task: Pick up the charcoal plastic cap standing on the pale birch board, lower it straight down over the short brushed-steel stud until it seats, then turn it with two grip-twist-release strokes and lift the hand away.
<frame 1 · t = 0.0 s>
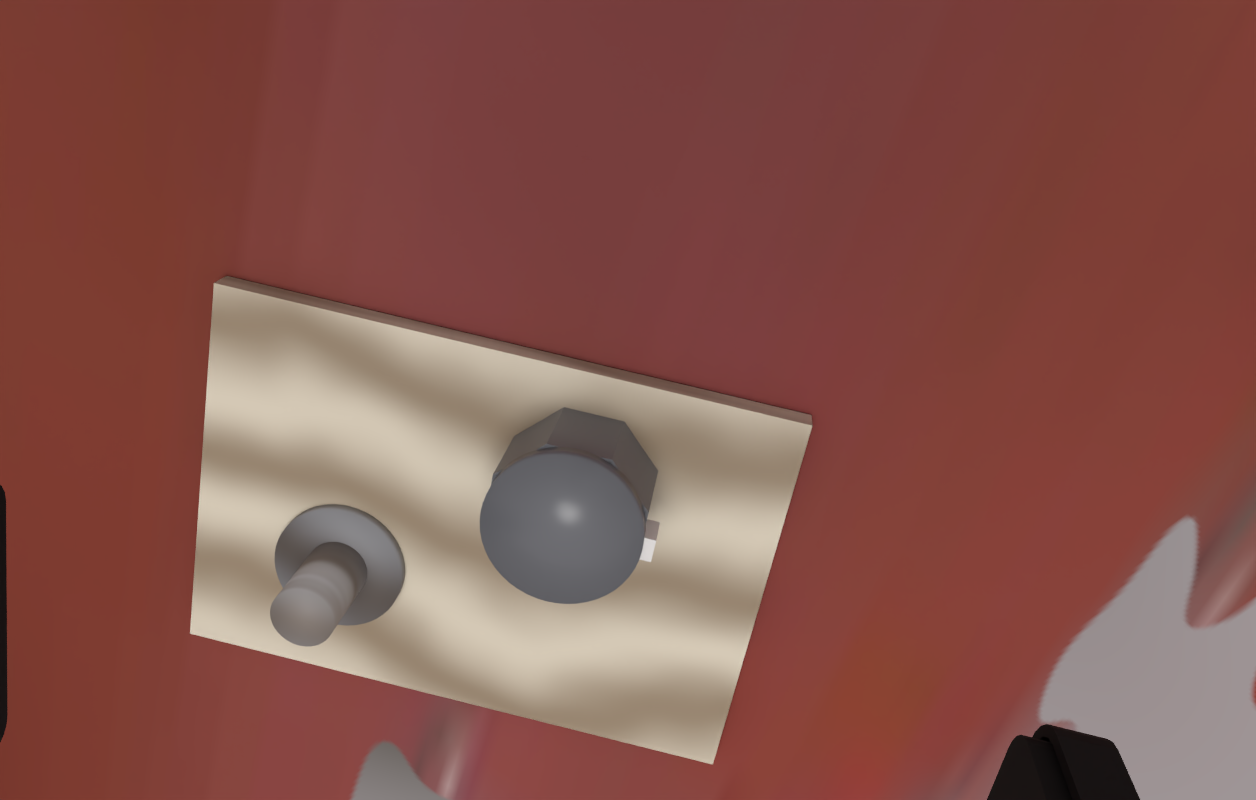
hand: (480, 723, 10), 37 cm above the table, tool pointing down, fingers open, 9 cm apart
cap: (580, 480, 49), point 1 cm above the table, touching board
board: (483, 525, 52), on the table
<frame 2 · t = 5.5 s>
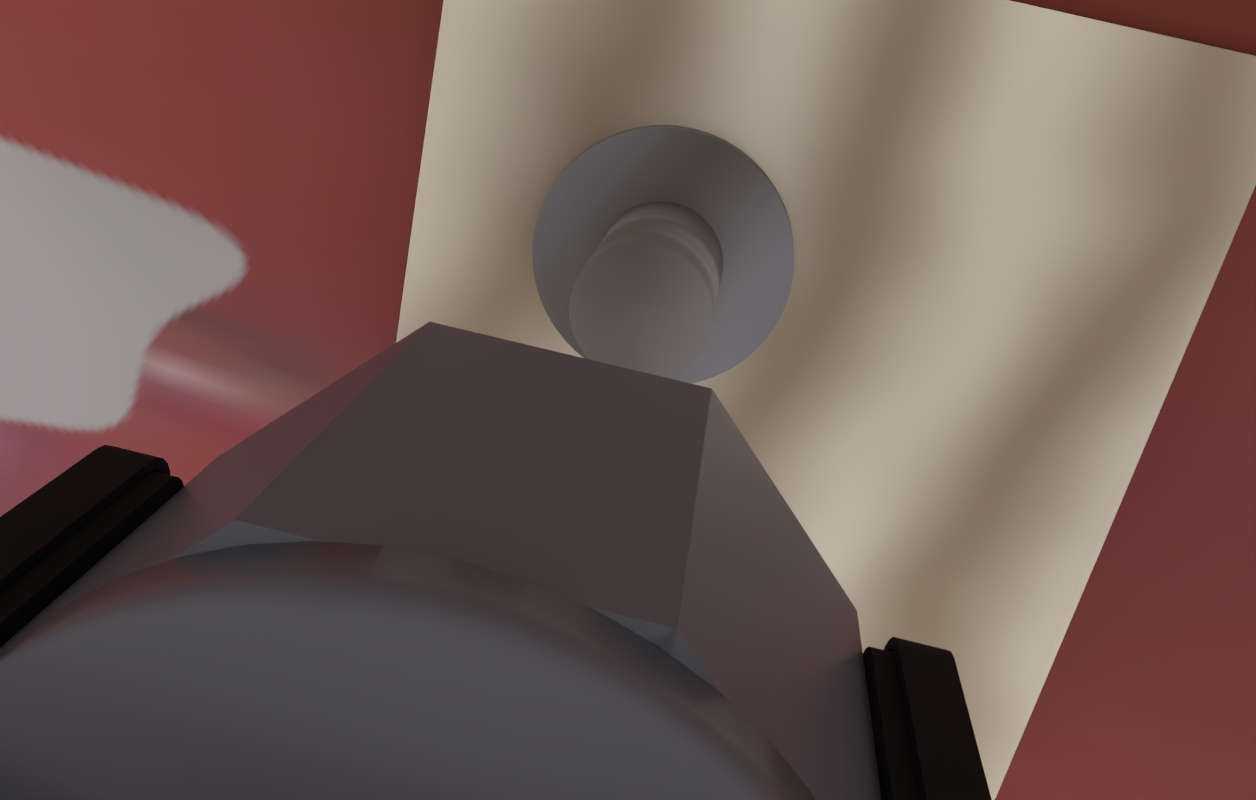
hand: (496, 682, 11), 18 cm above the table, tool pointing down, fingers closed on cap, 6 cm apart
cap: (512, 643, 11), point 17 cm above the table, touching gripper
board: (729, 490, 29), on the table
when the fingers open (3 cm above the table, at t = 8.0 s): cap stays where it is, resting on board.
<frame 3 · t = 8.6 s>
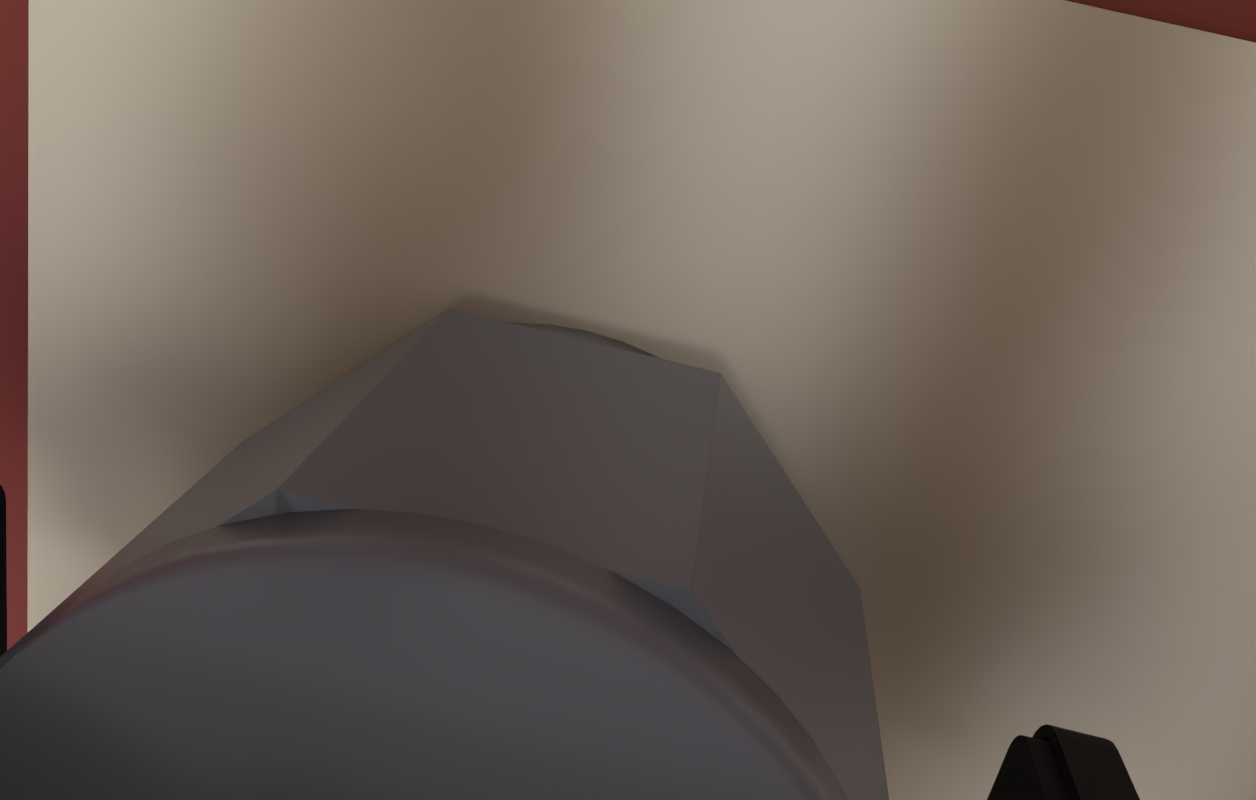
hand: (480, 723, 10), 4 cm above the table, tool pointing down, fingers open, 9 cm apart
cap: (527, 620, 12), point 2 cm above the table, touching board
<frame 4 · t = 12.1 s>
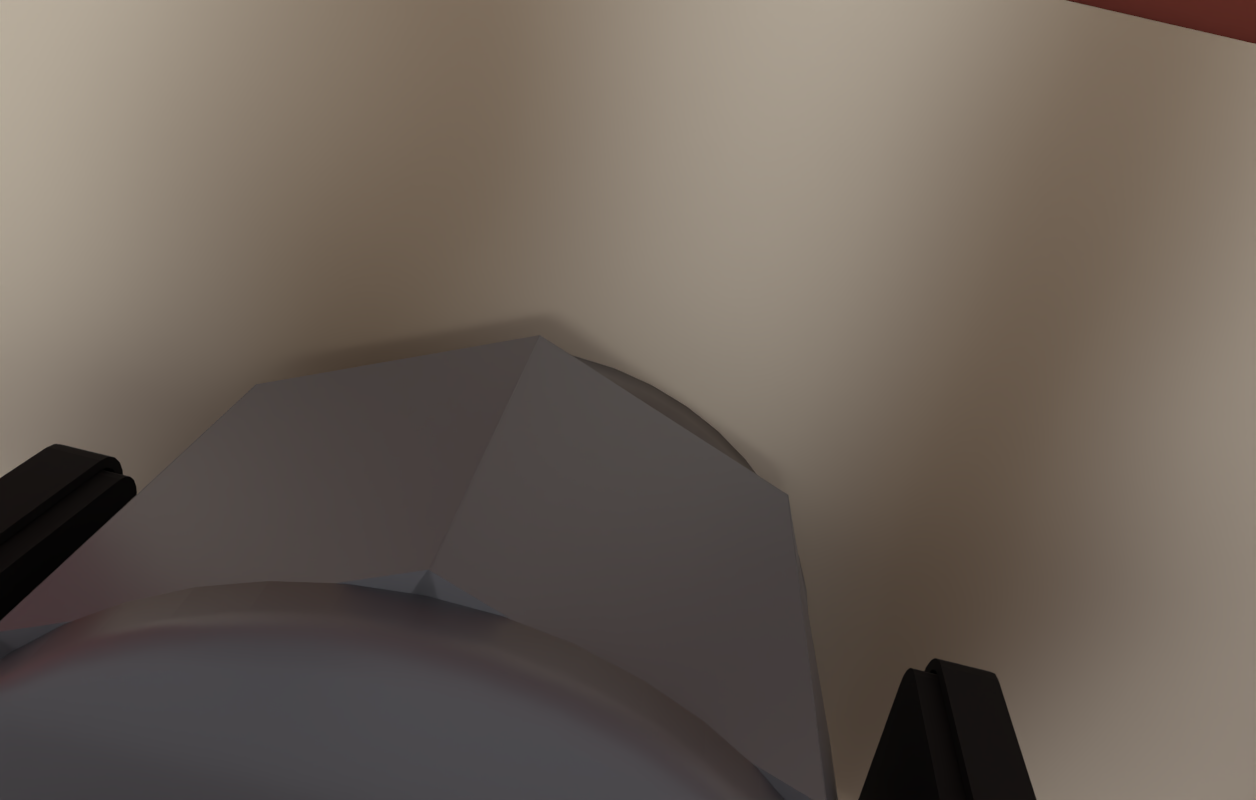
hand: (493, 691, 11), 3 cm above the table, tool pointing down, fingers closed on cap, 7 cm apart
cap: (484, 661, 11), point 2 cm above the table, touching gripper
when the fingers open (2 cm above the table, at t = 13.7 s): cap stays where it is, resting on board.
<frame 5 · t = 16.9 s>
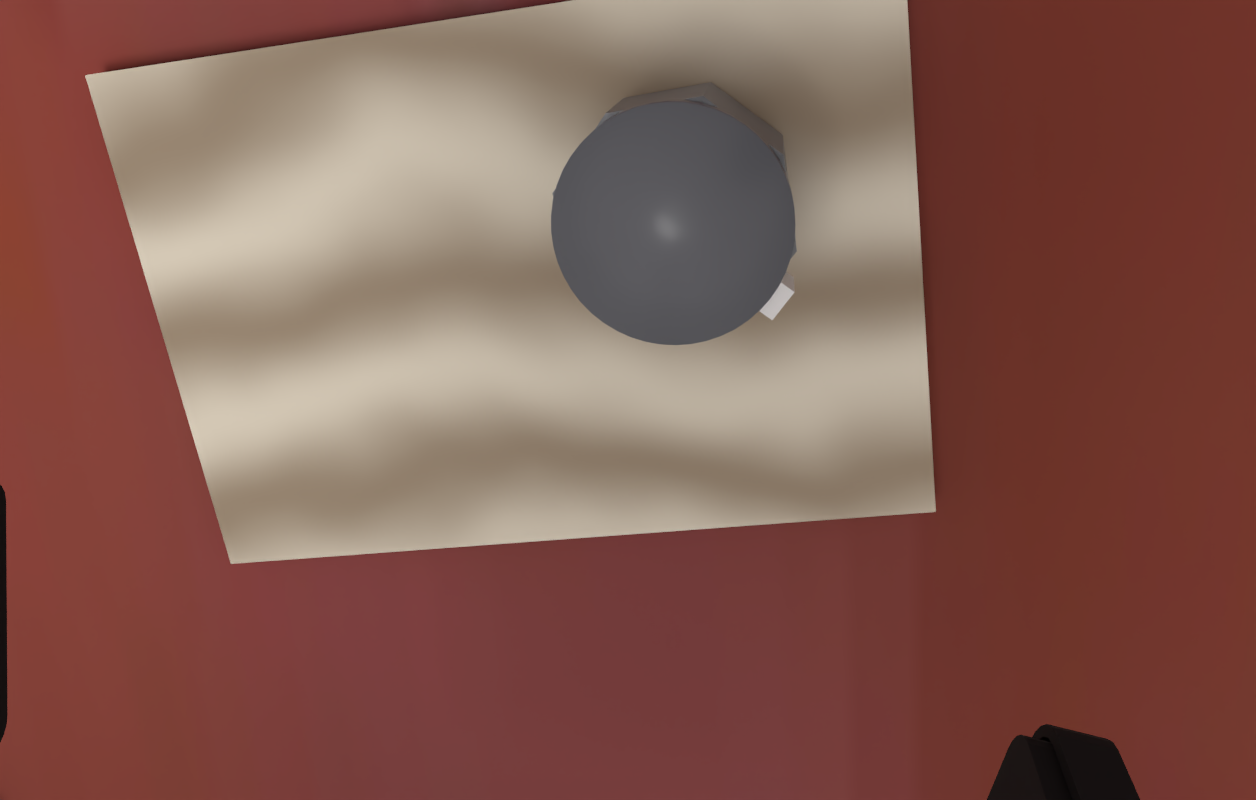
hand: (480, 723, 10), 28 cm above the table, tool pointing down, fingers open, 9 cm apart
cap: (684, 195, 35), point 2 cm above the table, touching board
board: (528, 289, 38), on the table
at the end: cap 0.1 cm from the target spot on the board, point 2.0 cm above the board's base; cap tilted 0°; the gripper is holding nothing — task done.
